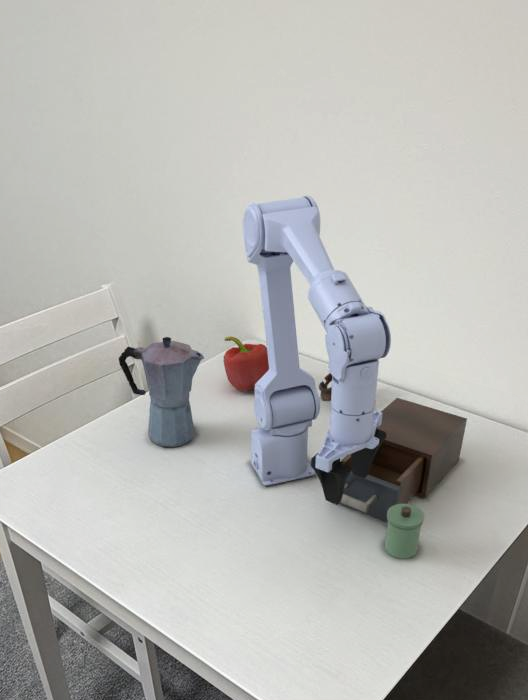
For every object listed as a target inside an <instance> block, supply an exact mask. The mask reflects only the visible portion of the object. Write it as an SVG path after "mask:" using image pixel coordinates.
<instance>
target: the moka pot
mask: <svg viewBox="0 0 528 700" xmlns="http://www.w3.org/2000/svg"><path fill="white" fill-rule="evenodd" d="M129 357H130V358H133V359H134V360H141V363H142V366H143V370H144V375H145V380H146V385H147V389H148V391H149V392H148V394H149V398H150V402H149V404H150V405H149V416H148V417H149V418H148V429H147V431H148V432H147V434H148V438H149V440H150V441H151V442H152V443H154V444H156V445H159V446H161V447H172V448H173V447H180V446H184V445H187V444H189V443H190V442H191V441H192V440H193V439H194V437H195V435H196V431H195V425H194V419H193V413H192V409H191V407H192V406H191V402H190V393H191V391H192V387H193V386H192V385H193V378H194V376H195V374H196V372H197V370H198V367H199V366H200V364H201V362H202V360H204V359H205V356H204V355H203V353H201V352H199V351H197V350H195V349H192V347H191V345H190V344H188V343H184V342H179V341H176V340H172V337H169V336H164V337H162V340H161V341H160V342H152V343H151V344H149V345H147V346H146V347H132V346H127V347H126V348H125V349H124V351H123V352H121V354H120V355H119V357H118V363H119V366H120V368H121V370H122V371H123V372H122V373H124V376H125V378H126V381H127V382H128V385H129V387H130V389H131V391H132V393H133V394H134V395H137V396H138V395H139V396H146V393H147V391H146V390H145V389H139V388H138V386H137V383H135V381H134V377H133V374H132V372H131V370H130V367H129V365H128V363H127V362H126V360H127V359H128V358H129Z"/></svg>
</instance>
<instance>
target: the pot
mask: <svg viewBox="0 0 528 700" xmlns="http://www.w3.org/2000/svg"><path fill="white" fill-rule="evenodd" d="M387 520H388V523H386V533H385V539H384V540H385V541H384V549H385V552H386V553H387V554H388V555H390V556H391V557H393V558H396V559H401V560H402V559H403V560H405V559H411V558H413V556H415V555H416V554H417V552H418V548H419V547H418V546H419V540H420V535H421V529H422V525H423V523H424V521H425V513H424V511H423V510H422V508H419V507H418V506H416V505H414V504H410V503H407V504H396V505H393V506H391V507H390V508H389V509H388V511H387Z"/></svg>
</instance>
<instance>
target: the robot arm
mask: <svg viewBox="0 0 528 700" xmlns="http://www.w3.org/2000/svg"><path fill="white" fill-rule="evenodd" d="M242 233H243V243H244V250H245V254H246V260H247V262H248V263H250V264H252V265H256V268H257V274H258V281H259V290H260V297H261V299H260V300H261V307H262V308H261V309H262V316H263V317H262V318H263V323H264V324H263V325H264V333H265V343H266V347H267V353H268V362H269V370H268V371H267V372H266V373H265V374H264V376H263V377H262V378H261V379H260V380H259V381H258V382H257V383H256V384H255V389H254V401H253V410H254V415H255V419H256V421H257V424H258V425H259V426H258V427H257V428H254V429H252V430H251V432H250V448H251V449H250V450H251V451H250V452H251V460H250V464H251V466H252V468H253V470H254V471H255V473H256V474H257V476H258V478H259V479H260V480H259V481H261V483H262V484H263V486H265V487H267V486H272V485H278V484H281V483H287V482H291V481H296V480H300V479H304V478H305V479H306V478H308V477H313V476H317V477H318V479H319V482H320V485H321V488H322V492H323V496H324V499H325V501H326V502H329V503H331V504H334V505H336V506H339V505H340V504H339V503H340V502H341V499H342V496H343V491H344V486H345V483H346V480H347V478H348V476H349V474H350V472H351V471H352V473H353V474H354V475H357V476H359V477H362V478H366V477H367V475H368V473H369V470H370V467H371V465H372V462H373V459H374V457H375V455H376V453H377V451H378V449H379V447H380V445H381V444H382V443H383V441H384V440H385V439H386V432H384V431H382V430H379V429H377V427H379V426H380V425H381V422H382V413H381V411H377V410H375V407H376V397H377V387H378V376H379V367H380V365H379V364H380V360H381V359H384V358H386V357H387V356H388V354H389V353H390V349H391V344H392V335H391V330H390V326H389V323H388V320H387V319H386V316H385V314H384V313H382V311H380V310H375V309H374V307H372V306H366V304H365V302H364V300H363V298H362V297H361V296H360V294H359V292H358V290H357V288H355V285H354V283H353V282H352V281H351V279H350V277H349V276H348V274H347V273H346V272H345V271H343V270H338V269H335V268H334V266H333V263H332V261H331V258H330V257H329V255H328V252H327V250H326V248H325V246H324V243H323V241H322V239H321V237H320V236H321V214H320V209H319V205H318V203H317V202H316V200H315V199H314V198H313V197H312V196H311V195H303V196H302V197H294V198H288V199H280V200H272V201H268V202H267V201H266V202H259V203H255V202H251V203H248V205H247V207H246V209H245V211H244V214H243V218H242ZM293 263H294V264H295V265H296V267H297V268H298V270H299V271H300V273H301V274H302V275H303V277H304V278H305V279H306V281H307V282H308V284H309V288H308V291H307V298H308V301H309V303H310V305H311V307H312V308H313V311H314V312H315V314H316V316H317V317H318V319H319V321H320V324H321V325H322V327H323V329H324V330H325V333H326V334H325V337H324V338H325V339H324V341H325V347H326V352H327V356H328V369H329V371H328V372H329V373H331V374H332V381H331V387H332V393H331V401H330V415H329V429H328V431H327V434H326V436H325V438H324V441H323V444H322V446H321V449H320V451H319V452H317V453H316V454H315V455H313V456H312V457H311V459H310V463H309V461H308V449H309V448H308V445H309V443H308V442H309V428H311V427H312V426H313V421H314V420H317V419H318V417H319V414H320V412H321V399H320V396H319V393H318V390H317V385H316V380H315V377H314V376H313V375H312V374H311V373H309V372H307V371H305V370H304V369H302V368H300V358H299V357H300V356H299V348H298V347H299V346H298V336H297V325H296V324H297V323H296V313H295V305H294V294H293V293H294V292H293V282H292V271H291V267H292V265H293ZM349 454H351V467H349V466H346V465H343V464H342V461H341V460H342V459H343V458H344V457H346V456H347V455H349Z"/></svg>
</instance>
